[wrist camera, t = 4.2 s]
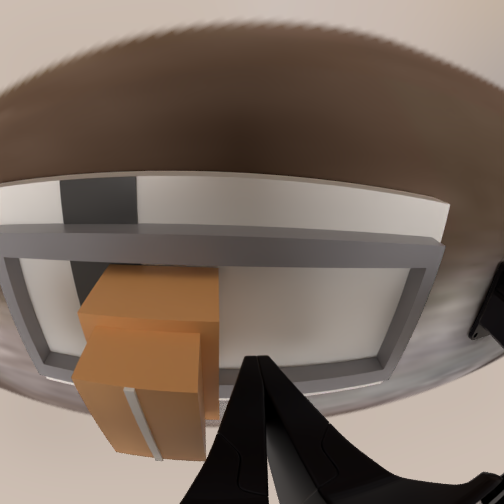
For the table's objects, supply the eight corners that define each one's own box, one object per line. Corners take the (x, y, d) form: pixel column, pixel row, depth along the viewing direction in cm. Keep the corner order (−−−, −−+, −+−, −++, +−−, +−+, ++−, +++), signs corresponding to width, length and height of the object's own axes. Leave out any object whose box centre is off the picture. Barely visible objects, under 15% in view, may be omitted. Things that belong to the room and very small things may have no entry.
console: (433, 197, 11) (464, 211, 9) (374, 370, 15) (387, 394, 13) (2, 183, 8) (-28, 195, 6) (53, 365, 13) (41, 390, 11)
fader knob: (218, 267, 10) (221, 385, 5) (217, 363, 12) (222, 467, 7) (109, 264, 9) (46, 365, 5) (129, 359, 11) (106, 456, 6)
